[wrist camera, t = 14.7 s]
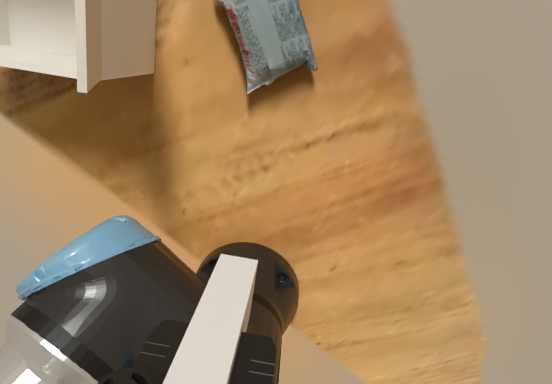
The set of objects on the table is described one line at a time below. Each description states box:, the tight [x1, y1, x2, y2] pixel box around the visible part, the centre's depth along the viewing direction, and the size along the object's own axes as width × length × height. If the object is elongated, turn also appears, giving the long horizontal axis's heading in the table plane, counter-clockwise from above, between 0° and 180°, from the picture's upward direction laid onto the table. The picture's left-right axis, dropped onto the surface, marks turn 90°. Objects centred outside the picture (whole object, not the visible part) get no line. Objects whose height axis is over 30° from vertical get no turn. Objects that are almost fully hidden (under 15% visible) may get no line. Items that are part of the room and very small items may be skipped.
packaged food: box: [218, 0, 317, 94], centre depth 42 cm, size 9×12×5 cm
